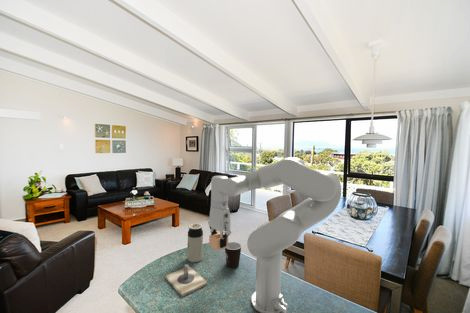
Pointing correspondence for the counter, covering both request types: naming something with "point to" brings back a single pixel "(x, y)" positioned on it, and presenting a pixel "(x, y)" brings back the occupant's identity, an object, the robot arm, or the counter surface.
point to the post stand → (186, 280)
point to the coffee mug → (233, 254)
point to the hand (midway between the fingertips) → (218, 243)
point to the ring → (216, 241)
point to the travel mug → (195, 243)
